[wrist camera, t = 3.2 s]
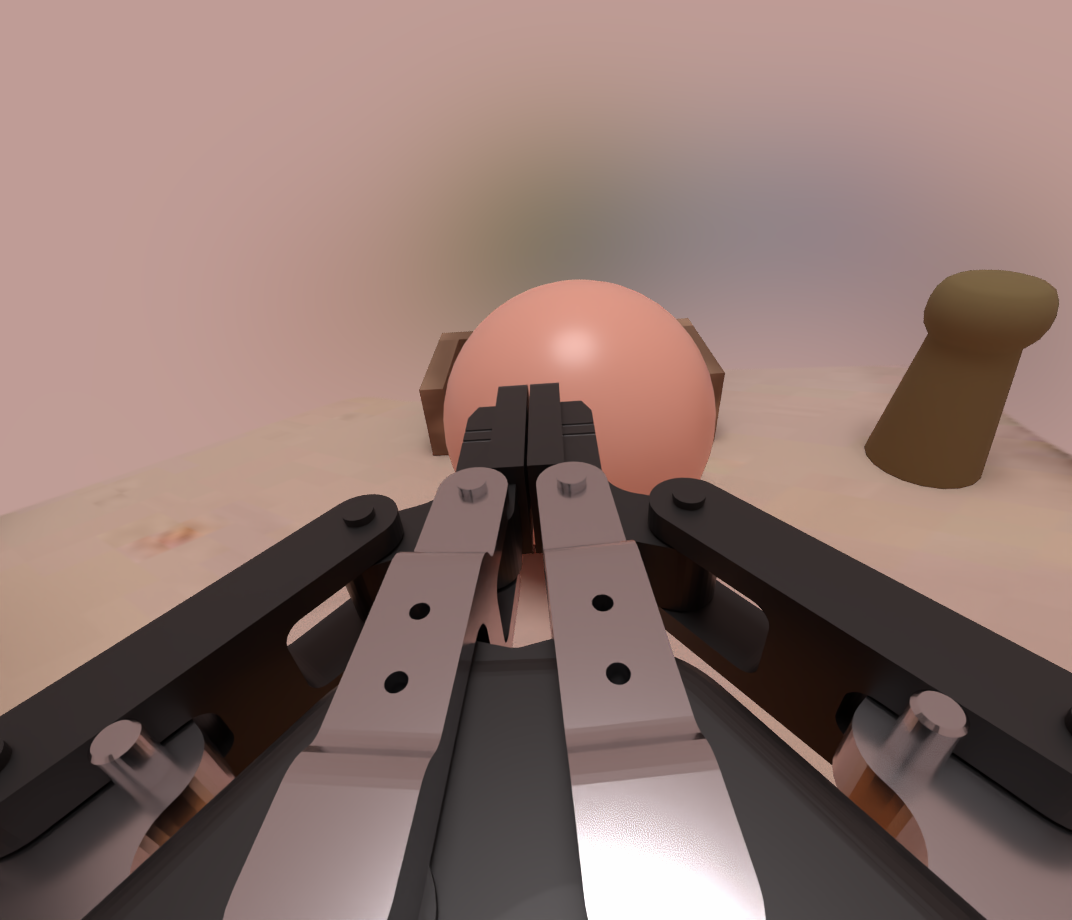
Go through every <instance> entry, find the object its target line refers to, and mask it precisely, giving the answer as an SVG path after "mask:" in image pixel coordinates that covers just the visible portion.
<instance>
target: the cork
mask: <svg viewBox="0 0 1072 920" xmlns="http://www.w3.org/2000/svg"><path fill="white" fill-rule="evenodd" d="M1058 307H1059V299H1058V294H1057V290H1056V289H1055V288H1054V287H1053V286H1051V285H1050V284H1049V283H1047V282H1046V281H1045V280H1042V279H1040V278H1037V277H1034V276H1030V275H1026V274H1022V273H1017V272H1011V271H1003V270H1002V271H1001V270H973V271H972V270H970V271H965V272H960V273H957V274H954V275H952V276H949V277H947V278H946V279H945V280H943V281H942V282H941V283H940V284H939V285H937V287H936V288H935V290H934V291H933V293H932V294H931V295H930V298H929V300H928V302H927V305H926V307H925V310H924V324H925V327H926V329H927V332H928V335H927V337H926V338H925V340H924V342H923V344H922V345H921V347H920V349H919V351H918V352H917V354H916V356H915V358H914V359H913V361H912V363H911V365H910V366H909V368H908V370H907V372H906V374H905V375H904V377H903V379H902V381H901V382H900V384H899V386H898V388H897V389H896V391H895V393H894V395H893V396H892V398H891V400H890V402H889V404H888V405H887V407H886V409H885V411H884V412H883V414H882V416H881V418H880V419H879V421H878V423H877V425H876V426H875V428H874V430H873V432H872V434H871V435H870V437H869V439H868V441H867V443H866V445H865V451H866V455H867V456H868V457H869V459H870V460H871V461H872V462H873V463H874V464H875V465H876V466H878V467H879V468H881V469H882V470H883V471H885V472H886V473H888V474H891V475H893V476H895V477H897V478H899V479H901V480H904V481H907V482H911V483H914V484H918V485H921V486H927V487H934V488H941V489H947V488H962V487H966V486H970V485H973V484H974V483H975V482H977V481H978V480H979V479H980V478H981V475H982V472H983V469H984V466H985V463H986V460H987V457H988V454H989V451H990V448H991V445H992V442H993V439H994V436H995V433H996V430H997V427H998V424H999V421H1000V417H1001V414H1002V411H1003V408H1004V405H1005V402H1006V399H1007V396H1008V393H1009V390H1010V387H1011V384H1012V381H1013V378H1014V375H1015V372H1016V369H1017V366H1018V363H1019V359H1020V357H1021V353H1022V350H1023V349H1024V348H1026V347H1028V346H1029V345H1031V344H1033V343H1035V342H1036V341H1038V340H1039V339H1040V338H1041V337H1042V336H1043V335H1044V334H1045V333H1046V332H1047V331H1048V330H1049V329H1050V327H1051V325H1052V324H1053V322H1054V320H1055V318H1056V316H1057V311H1058Z"/></svg>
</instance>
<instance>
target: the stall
mask: <svg viewBox="0 0 1072 920" xmlns="http://www.w3.org/2000/svg"><path fill="white" fill-rule="evenodd" d="M677 321H678V322H679V323H680V324H681V325H682V326H683V327H684V329H685V330H686V331H687V332H688V333H689V335H690V336H691V337H692V339H693V341H694V342H695V344H696V345H697V347H698V349H699V350H700V352H701V355H702V357H703V359H704V361H705V364H706V366H707V369H708V371H709V374H710V378H711V382H712V386H713V391H714V397H715V408H716V420H715V431H716V425H717V418H718V412H719V406H720V400H721V394H722V388H723V381H724V375H725V372H724V371H723V369H722V368H721V366H720V365H719V364H718V362H717V361H716V359H715V358H714V356H713V355H712V353H711V352H710V350H709V349H708V347H707V346H706V344H705V343H704V341H703V340H702V338H701V337H700V335H699V334H698V332H697V331H696V329H695V328H694V326H693V325H692V323H691V322H690V320H689V319H688V318H685V319H677ZM472 333H473V331H472V332H471V331H470V332H454V333H442V335H441V337H440V340H439V342H438V345H437V347H436V350H435V352H434V355H433V357H432V360H431V362H430V364H429V367H428V370H427V372H426V375H425V377H424V379H423V382H422V384H421V387H420V389H419V391H420V396H421V401H422V405H423V410H424V415H425V419H426V424H427V428H428V433H429V438H430V442H431V447H432V451H433V455H449V453H448V449H447V446H446V440H445V431H444V421H443V415H444V400H445V395H446V389H447V384H448V379H449V377H450V374H451V371H452V368H453V365H454V363H455V361H456V359H457V357H458V355H459V353H460V351H461V349H462V347H463V345H464V344H465V342H466V341H467V340H468V338H469V337H470V336H471V334H472ZM714 437H715V432H714ZM713 441H714V440H713Z"/></svg>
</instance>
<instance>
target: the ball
mask: <svg viewBox="0 0 1072 920" xmlns="http://www.w3.org/2000/svg"><path fill="white" fill-rule="evenodd" d="M557 382H559V391H560V402H566V401H582V402H584V403H585V404H586V405H587V406H588V407H589V408H590V409H591V410H592V415H593V421H594V427H595V434H596V439H597V445H598V450H599V456H600V462H601V468H602V471H603V472H604V474H605V475H606V477H607V480H608V481H609V482H610V483H611V484H613V485H614V486H616V487H618V488H620V489H622V490H625V491H628V492H633V493H638V494H644V495H650V493H651V491H652V489H653V488H654V487H655V486H656V485H658V484H659V483H661V482H663V481H666V480H669V479H673V478H694V479H699V480H700V478H701V476H702V473H703V471H704V469H705V466H706V464H707V461H708V459H709V456H710V453H711V448H712V444H713V440H714V432H715V420H716V408H715V397H714V391H713V386H712V382H711V378H710V374H709V371H708V369H707V366H706V364H705V361H704V359H703V357H702V355H701V352H700V350H699V349H698V347H697V345H696V344H695V342H694V341H693V339H692V337H691V336H690V335H689V333H688V332H687V331H686V330H685V329H684V327H683V326H682V325H681V324H680V323H679V322H678V321H677V319H675V317H673V316H672V315H671V314H670V313H669V312H667V311H666V310H665V309H664V308H662V307H661V306H660V305H659V304H658V303H655V302H654V301H652V300H651V299H649V298H647V297H646V296H644V295H642V294H640V293H638V292H636V291H634V290H631V289H628V288H625V287H623V286H620V285H617V284H613V283H608V282H602V281H594V280H565V281H558V282H553V283H549V284H545V285H541V286H538V287H535V288H532V289H530V290H527V291H525V292H523V293H521V294H519V295H517V296H515V297H513V298H511V299H509V300H508V301H506V302H505V303H504V304H502V305H501V306H499V307H498V308H497V309H495V310H494V311H493V312H492V313H491V314H489V315H488V316H487V317H486V318H485V319H484V320H483V321H482V322H481V323H480V324H479V325H478V326H477V328H476V329H475V330H474V331H473V333H472V334H471V336H470V337H469V338H468V340H467V341H466V342H465V344H464V345H463V347H462V349H461V351H460V353H459V355H458V357H457V359H456V361H455V363H454V365H453V368H452V371H451V374H450V377H449V379H448V384H447V389H446V395H445V400H444V415H443V421H444V431H445V440H446V446H447V449H448V453H449V457H450V460H451V463H452V465H453V468H454V470H455V472H456V468H457V464H458V459H459V455H460V451H461V446H462V443H463V438H464V433H465V429H466V425H467V420H468V418H469V417H470V416H471V415H472V414H473V413H474V412H475V411H476V410H477V409H478V408H479V407H490V406H496V399H497V393H498V387H499V386H514V385H528V389H529V396H530V384H542V383H557ZM533 544H534V545H535V537H534V530H533Z"/></svg>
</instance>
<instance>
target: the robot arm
mask: <svg viewBox="0 0 1072 920" xmlns="http://www.w3.org/2000/svg"><path fill="white" fill-rule="evenodd" d="M533 530H534V537H535V546H536V553H543V560H544V572H545V582H546V591H547V600H548V609H549V618H550V628H551V637H552V639H550V640H546V641H542V642H539V643H535V644H531V645H528V646H524V647H519V648H512V645H513V637H514V630H515V623H516V616H517V608H518V601H519V594H520V587H521V578H520V570H521V566H522V554H529V553H533ZM717 577H718V578H719V579H721V580H722V581H724V582H725V583H727V584H728V585H730V586H731V587H733V588H734V589H736V590H737V591H739V592H740V593H742V594H743V595H745V596H746V597H748V598H749V599H751V600H752V601H753V602H755V603H756V604H757V605H758V606H759V607H760V608H761V609H762V610H763V611H762V610H760V609H759V608H757V607H756V606H754V605H753V604H751V603H750V602H748V601H747V600H745V599H744V598H742V597H741V596H739V595H738V594H736V593H735V592H733V591H732V590H730V589H729V588H727V587H726V586H724V585H723V584H721V583H720V582H719V581H717V580H716V578H717ZM345 585H346V587H347V590H348V592H349V595H350V597H351V598H350V599H349V600H348V601H346V602H345V603H344V604H342V605H341V606H340V607H339V608H337V609H336V610H335V611H333V612H332V613H331V614H329V615H328V616H327V617H326V618H324V619H323V620H322V621H320V622H319V623H318V624H316V625H315V626H314V627H313V628H311V629H310V630H309V631H307V632H306V633H305V634H303V635H302V636H301V637H300V638H298V639H297V640H296V641H294V642H293V643H292V644H290V645H289V646H287V637H288V634H289V632H290V630H291V629H292V627H293V626H294V625H295V624H296V623H297V622H298V621H299V620H300V619H301V618H303V617H304V616H305V615H307V614H308V613H309V612H311V611H312V610H313V609H315V608H316V607H317V606H319V605H320V604H321V603H323V602H324V601H325V600H327V599H328V598H329V597H331V596H332V595H333V594H335V593H336V592H337V591H339V590H340V589H341V588H343V587H344V586H345ZM665 630H666V631H668V632H669V633H670V634H671V635H673V636H674V637H675V638H676V639H677V640H679V641H680V642H681V643H682V644H684V645H685V646H686V647H687V648H689V649H690V650H691V651H692V652H693V653H695V654H696V655H697V656H698V657H700V658H701V659H702V660H703V661H705V662H706V663H707V664H708V665H709V666H711V667H712V668H713V669H714V670H716V671H717V672H718V673H719V674H721V675H722V676H723V677H724V678H725V679H727V680H728V681H729V682H730V683H732V684H733V685H734V686H735V687H737V688H738V689H739V690H740V691H741V692H743V693H744V694H745V695H746V696H748V697H749V698H750V699H751V700H753V701H754V702H755V703H756V704H757V705H759V706H760V707H761V708H762V709H764V710H765V711H766V712H767V713H769V714H770V715H771V716H772V717H774V718H775V719H776V720H777V721H778V722H780V723H781V724H782V725H783V726H785V727H786V728H787V729H788V730H790V731H791V732H792V733H793V734H794V735H796V736H797V737H798V738H799V739H801V740H802V741H803V742H804V743H806V744H807V745H808V746H809V747H810V748H812V749H813V750H814V751H815V752H817V753H818V754H819V755H820V756H822V757H823V758H824V759H825V760H826V761H828V762H829V763H830V764H831V765H832V768H833V776H834V779H835V783H836V786H837V787H836V786H834V785H833V784H832V783H831V782H830V781H829V780H828V779H827V778H825V777H824V776H823V775H822V774H821V773H820V772H819V771H817V770H816V769H815V768H814V767H813V766H812V765H811V764H809V763H808V762H807V761H806V760H805V759H804V758H803V757H801V756H800V755H799V754H798V753H797V752H796V751H795V750H793V749H792V748H791V747H790V746H789V745H788V744H787V743H786V742H784V741H783V740H782V739H781V738H780V737H779V736H778V735H776V734H775V733H774V732H773V731H772V730H771V729H770V728H768V727H767V726H766V725H765V724H764V723H763V722H762V721H760V720H759V719H758V718H757V717H756V716H755V715H754V714H752V713H751V712H750V711H749V710H748V709H747V708H746V707H745V706H743V705H742V704H741V703H740V702H739V701H738V700H737V699H735V698H734V697H733V696H732V695H731V694H730V693H729V692H727V691H726V690H725V689H724V688H723V687H722V686H721V685H719V684H718V683H717V682H716V681H715V680H713V679H712V678H711V677H709V676H708V675H706V674H705V673H704V672H702V671H701V670H699V669H698V668H696V667H694V666H692V665H690V664H689V663H687V662H685V661H683V660H680V659H678V658H676V657H674V655H673V652H672V649H671V646H670V643H669V640H668V637H667V634H666V631H665ZM0 920H1072V673H1071V672H1069V671H1067V670H1065V669H1063V668H1061V667H1059V666H1058V665H1056V664H1054V663H1052V662H1050V661H1048V660H1046V659H1044V658H1042V657H1040V656H1038V655H1037V654H1035V653H1033V652H1031V651H1029V650H1027V649H1025V648H1023V647H1021V646H1019V645H1017V644H1016V643H1014V642H1012V641H1010V640H1008V639H1006V638H1004V637H1002V636H1000V635H998V634H997V633H995V632H993V631H991V630H989V629H987V628H985V627H983V626H981V625H979V624H977V623H976V622H974V621H972V620H970V619H968V618H966V617H964V616H962V615H960V614H958V613H956V612H955V611H953V610H951V609H949V608H947V607H945V606H943V605H941V604H939V603H937V602H936V601H934V600H932V599H930V598H928V597H926V596H924V595H922V594H920V593H918V592H916V591H915V590H913V589H911V588H909V587H907V586H905V585H903V584H901V583H899V582H897V581H896V580H894V579H892V578H890V577H888V576H886V575H884V574H882V573H880V572H878V571H876V570H875V569H873V568H871V567H869V566H867V565H865V564H863V563H861V562H859V561H857V560H855V559H854V558H852V557H850V556H848V555H846V554H844V553H842V552H840V551H838V550H836V549H835V548H833V547H831V546H829V545H827V544H825V543H823V542H821V541H819V540H817V539H815V538H814V537H812V536H810V535H808V534H806V533H804V532H802V531H800V530H798V529H796V528H795V527H793V526H791V525H789V524H787V523H785V522H783V521H781V520H779V519H777V518H775V517H774V516H772V515H770V514H768V513H766V512H764V511H762V510H760V509H758V508H756V507H754V506H753V505H751V504H749V503H747V502H745V501H743V500H741V499H739V498H737V497H735V496H734V495H732V494H730V493H728V492H726V491H724V490H722V489H720V488H718V487H716V486H714V485H713V484H710V483H708V482H706V481H703V480H699V479H694V478H673V479H669V480H666V481H663V482H661V483H659V484H658V485H656V486H655V487H654V488H653V489H652V491H651V493H650V495H644V494H638V493H633V492H628V491H625V490H622V489H620V488H618V487H616V486H614V485H613V484H611V483H610V482H609V481H608V480H607V477H606V475H605V474H604V472H603V471H602V468H601V462H600V456H599V450H598V445H597V439H596V434H595V427H594V421H593V415H592V410H591V409H590V408H589V407H588V406H587V405H586V404H585V403H584V402H582V401H566V402H560V391H559V382H557V383H542V384H530V396H529V389H528V385H514V386H499V387H498V393H497V399H496V406H490V407H479V408H478V409H477V410H476V411H475V412H474V413H473V414H472V415H471V416H470V417H469V418H468V420H467V425H466V429H465V433H464V438H463V443H462V446H461V451H460V455H459V459H458V464H457V468H456V472H455V473H453V474H451V475H450V476H448V477H447V478H446V479H445V480H443V482H442V483H441V484H440V486H439V488H438V490H437V493H436V495H435V498H434V500H432V501H430V502H428V503H425V504H422V505H419V506H415V507H412V508H408V509H404V510H401V511H398V508H397V505H396V503H395V502H394V501H393V500H392V499H390V498H389V497H386V496H383V495H376V494H370V495H362V496H358V497H354V498H351V499H349V500H346V501H344V502H342V503H341V504H339V505H337V506H336V507H334V508H332V509H331V510H329V511H328V512H326V513H324V514H323V515H321V516H320V517H318V518H316V519H315V520H313V521H312V522H310V523H308V524H307V525H305V526H304V527H302V528H300V529H299V530H297V531H296V532H294V533H292V534H291V535H289V536H288V537H286V538H284V539H283V540H281V541H280V542H278V543H277V544H275V545H273V546H272V547H270V548H269V549H267V550H265V551H264V552H262V553H261V554H259V555H257V556H256V557H254V558H253V559H251V560H249V561H248V562H246V563H245V564H243V565H241V566H240V567H238V568H237V569H235V570H233V571H232V572H230V573H229V574H227V575H225V576H224V577H222V578H221V579H219V580H217V581H216V582H214V583H213V584H211V585H209V586H208V587H206V588H205V589H203V590H201V591H200V592H198V593H197V594H195V595H193V596H192V597H190V598H189V599H187V600H185V601H184V602H182V603H181V604H179V605H177V606H176V607H174V608H173V609H171V610H169V611H168V612H166V613H165V614H163V615H161V616H160V617H158V618H157V619H155V620H153V621H152V622H150V623H149V624H147V625H145V626H144V627H142V628H141V629H139V630H137V631H136V632H134V633H133V634H131V635H130V636H128V637H126V638H125V639H123V640H122V641H120V642H118V643H117V644H115V645H114V646H112V647H110V648H109V649H107V650H106V651H104V652H102V653H101V654H99V655H98V656H96V657H94V658H93V659H91V660H90V661H88V662H86V663H85V664H83V665H82V666H80V667H78V668H77V669H75V670H74V671H72V672H70V673H69V674H67V675H66V676H64V677H62V678H61V679H59V680H58V681H56V682H54V683H53V684H51V685H50V686H48V687H46V688H45V689H43V690H42V691H40V692H38V693H37V694H35V695H34V696H32V697H30V698H29V699H27V700H26V701H24V702H22V703H21V704H19V705H18V706H16V707H14V708H13V709H11V710H10V711H8V712H6V713H5V714H3V715H2V716H0Z"/></svg>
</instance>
